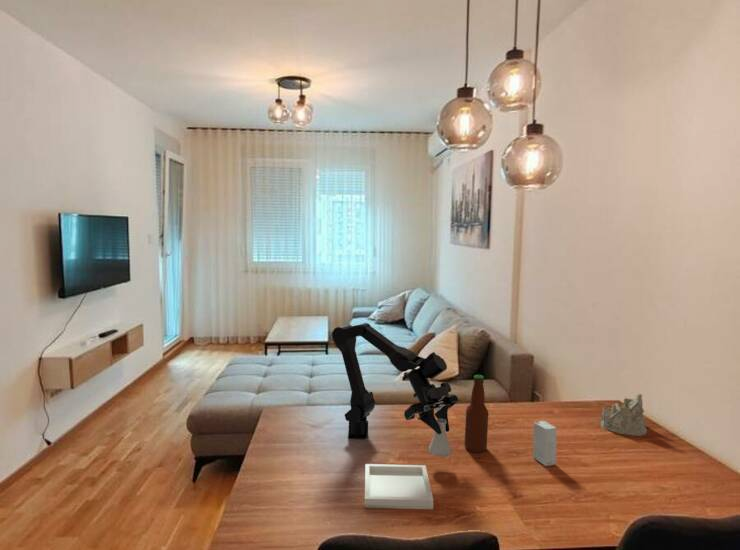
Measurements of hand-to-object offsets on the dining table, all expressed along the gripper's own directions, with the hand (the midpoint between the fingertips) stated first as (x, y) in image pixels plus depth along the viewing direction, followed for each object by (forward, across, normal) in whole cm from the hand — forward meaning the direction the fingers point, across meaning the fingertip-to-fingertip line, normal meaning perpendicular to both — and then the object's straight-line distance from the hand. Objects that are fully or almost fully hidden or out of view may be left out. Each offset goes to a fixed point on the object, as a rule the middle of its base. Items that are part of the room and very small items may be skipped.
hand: (444, 432), depth 142 cm
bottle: (+6, +19, +11) cm, 23 cm away
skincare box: (+18, +31, -2) cm, 36 cm away
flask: (+4, 0, +6) cm, 7 cm away
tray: (+9, -19, +7) cm, 22 cm away
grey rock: (+18, +81, -2) cm, 83 cm away
